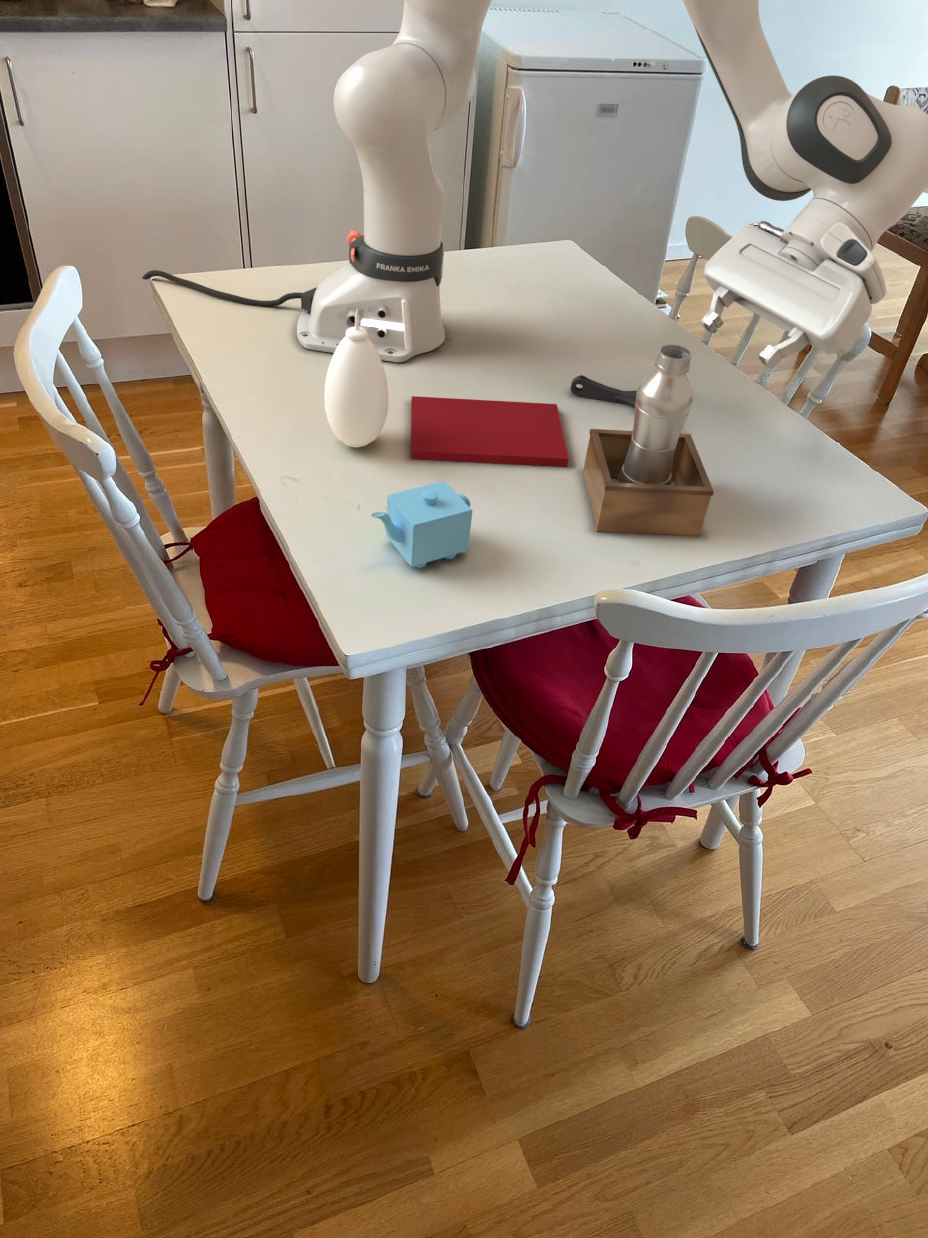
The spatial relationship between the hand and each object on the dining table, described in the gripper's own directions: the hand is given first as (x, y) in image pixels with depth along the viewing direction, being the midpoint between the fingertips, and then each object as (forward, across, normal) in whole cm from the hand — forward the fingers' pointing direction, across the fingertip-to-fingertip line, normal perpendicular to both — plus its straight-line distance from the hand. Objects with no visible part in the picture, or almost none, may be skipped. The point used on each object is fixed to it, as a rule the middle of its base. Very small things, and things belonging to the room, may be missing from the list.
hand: (734, 345), depth 109 cm
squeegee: (+10, -21, +17) cm, 29 cm away
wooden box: (+20, 0, +7) cm, 21 cm away
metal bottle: (+20, 0, +7) cm, 21 cm away
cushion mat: (+26, -22, +1) cm, 34 cm away
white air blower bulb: (+38, -27, -11) cm, 48 cm away
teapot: (+41, -4, -14) cm, 43 cm away
